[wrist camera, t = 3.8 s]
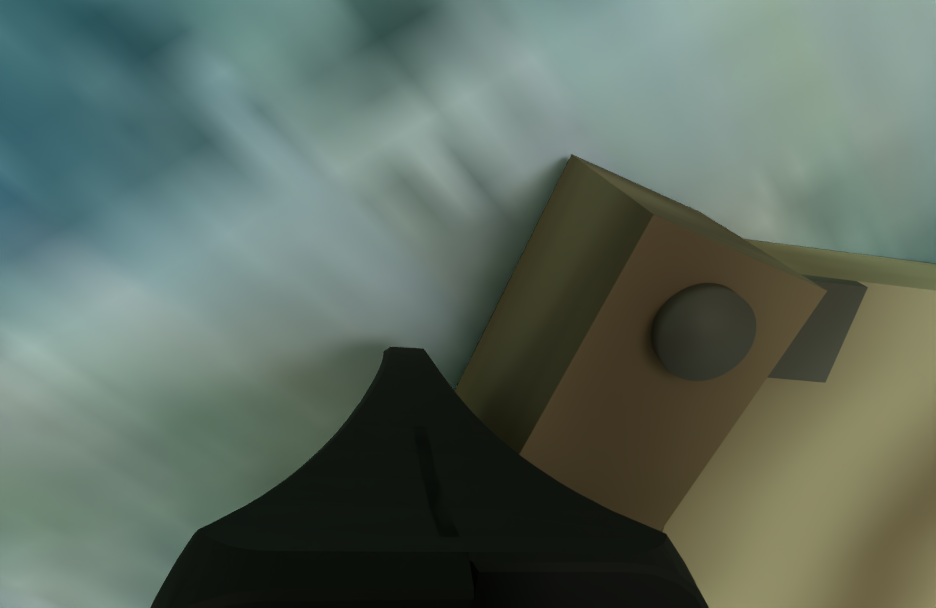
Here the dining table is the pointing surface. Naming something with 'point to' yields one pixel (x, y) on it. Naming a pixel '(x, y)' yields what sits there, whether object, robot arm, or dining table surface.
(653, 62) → the dining table surface
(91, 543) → the dining table surface
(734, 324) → the folding leg
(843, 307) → the stool top
